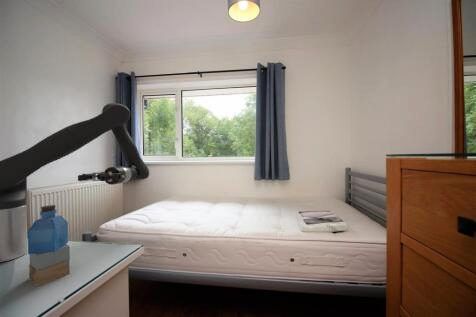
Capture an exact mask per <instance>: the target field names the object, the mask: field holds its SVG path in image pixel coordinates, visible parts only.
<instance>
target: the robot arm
mask: <svg viewBox="0 0 476 317" xmlns="http://www.w3.org/2000/svg"><path fill="white" fill-rule="evenodd" d="M130 118H131V111H130V109H129V108H128V107H127V106H125V105H124V104H122V103H121V104H120V103H115V102H114V103H113V102H111V103H107V104H106V105H104V106H103V108H102V110H101V113H100V114H98V115H95V116H94V117H92V118H88V119H85V120H81V121H80V122H79V121H78V122H76V123H72V124H70V125H68V126H64V128H61V129H60V130H58V131H56V132H53V133H52V134H50V135H49V136H46V137H45V138H43V139H42V140H40V141H39V142H37V143H36V144H34V145H33V146H30V147H29V148H27V149H26V150H23V151H21V152H18V153H16V154H14V155H12V156H9V157H6V158H4V159H1V160H0V263H2V262H7V261H11V260H15V259H19V258H20V257H23V256H25V255H26V254H28V216H27V215H28V212H27V199H28V198H27V197H28V187H27V186H28V180H27V178H28V177H29V176H31V175H32V174H34V173H35V172H37V171H38V170H40V169H42V168H43V167H45V166H47V165H49V164H51V163H53V162H56V161H58V160H61V159H62V158H64V157H67V156H69V155H70V154H73V153H75V152H76V151H78V150H80V149H82V148H83V147H84V146H86V145H88V144H89V143H91V142H93V141H94V140H96V139H98V138H99V137H100V136H102V135H104V134H105V133H107V132H109V131H111V132H112V133H113V135H114V138H115V139H116V141H117V144H118V146H119V149H120V151H121V154H122V156H123V159H124V162H125V163H126V164H127V165H129V166H109V167H107V168H106V169H105V170H104V171H100V172H99V171H97V172H91V173H82V174H79V175H77V181H78V182H85V181H87V182H88V181H92V182H105V183H106V184H108V185H119V184H124V183H126V182H132V181H138V180H146V179H148V178H149V176H150V169H149V167H148V166H147V165H146V163H145V162H144V160H143V159H142V158H141V156H140V153H139V150H138V147H137V146H136V144H135V141H134V140H133V138H132V136H130V133H129V132H128V130H127V127H126V125H125V124H126V123H127V122H128V121H129V120H130ZM96 178H97V179H96Z"/></svg>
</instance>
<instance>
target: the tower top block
mask: <svg viewBox="0 0 476 317" xmlns="http://www.w3.org/2000/svg"><path fill="white" fill-rule="evenodd" d="M70 252H71V251H70V245H69V244H68V243H67V244H65V245H64V246H62V247H61V248H60V249H58V250H57V251H54V252H45V253H36V254H29V265H31V266H33V267H34V268H35V269H36V270H37V271H38V270H41V269H44V268H47V267H50V266H53V265H56V264H59V263H62V262H64V261H67V260H69V261H70V260H71V257H70V256H71V254H70Z"/></svg>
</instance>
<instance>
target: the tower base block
mask: <svg viewBox="0 0 476 317" xmlns="http://www.w3.org/2000/svg"><path fill="white" fill-rule="evenodd" d="M69 274H70V260H67V261H64V262H62V263H59V264H56V265H53V266H50V267H47V268H44V269H41V270H38V271H37V270H36V269H35V268H34V267H33V266H31V265H30V264H28V276H29V277H28V278H29V280H30V281H31V282H32V283H33V284H34V285H35V286H36V287H38V286H41V285H44V284H46V283H48V282H51V281H54V280H57V279H59V278H61V277H64V276H66V275H69Z"/></svg>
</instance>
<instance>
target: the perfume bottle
mask: <svg viewBox="0 0 476 317" xmlns="http://www.w3.org/2000/svg"><path fill="white" fill-rule="evenodd" d="M40 209H41V211H40V213H39V214H40V215H39V216H41V218H38V219H35V220H34V222H33V224H31V226H30V227H29V229H27V254H28V255H30V254H36V253H45V252H54V251H57V250H58V249H60V248H61V247H62V246H64V245H65V244H67V245H68V243H69V233H68V232H69V230H68V229H69V228H68V226H69V225H68V221H67V220H66V219H65V218H64V217H63V216H62V215H56V214H57V208H56V204H50V205H45V206H41V207H40Z"/></svg>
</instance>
